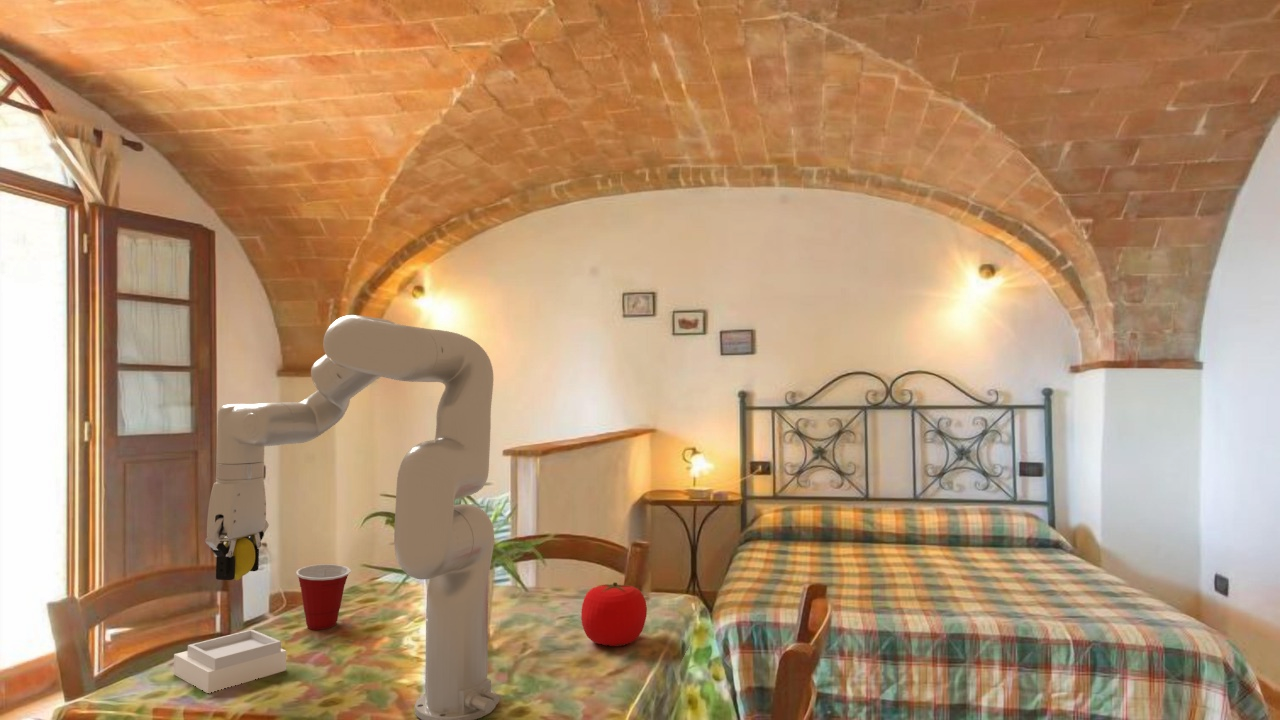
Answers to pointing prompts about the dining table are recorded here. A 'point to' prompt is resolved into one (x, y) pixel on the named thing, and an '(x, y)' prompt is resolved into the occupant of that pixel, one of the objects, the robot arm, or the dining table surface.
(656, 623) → the dining table surface
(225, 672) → the scale
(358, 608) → the dining table surface
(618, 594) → the tomato
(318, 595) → the plastic cup
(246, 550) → the lemon
